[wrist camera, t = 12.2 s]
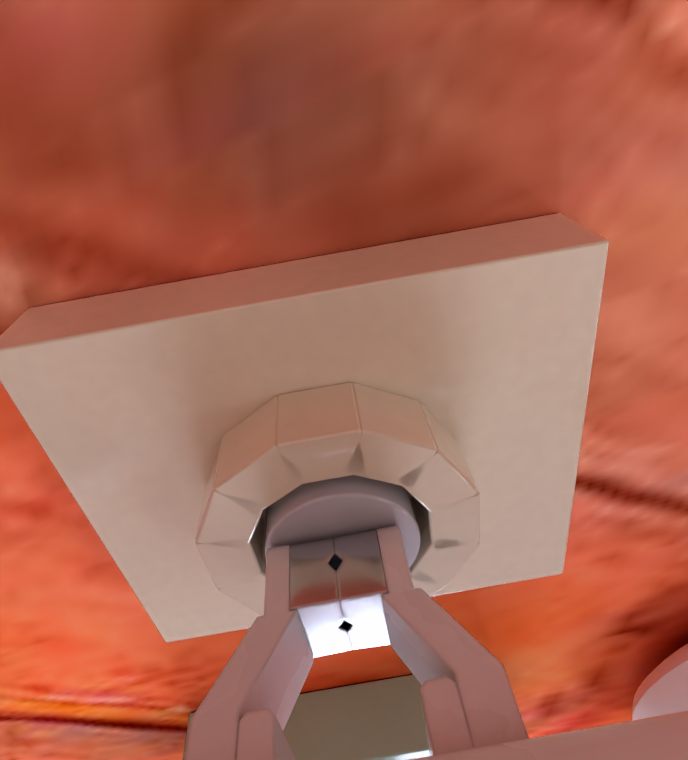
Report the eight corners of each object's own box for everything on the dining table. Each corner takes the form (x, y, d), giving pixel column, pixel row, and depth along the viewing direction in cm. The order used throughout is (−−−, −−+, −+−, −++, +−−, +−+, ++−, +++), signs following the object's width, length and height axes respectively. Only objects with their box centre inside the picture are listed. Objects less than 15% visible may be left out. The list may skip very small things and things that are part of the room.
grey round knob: (400, 429, 12) (415, 481, 11) (411, 529, 14) (425, 585, 13) (251, 455, 12) (246, 511, 11) (283, 552, 14) (283, 610, 13)
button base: (561, 211, 12) (666, 272, 9) (535, 521, 18) (591, 627, 15) (27, 307, 12) (-73, 404, 9) (178, 584, 18) (152, 703, 15)
